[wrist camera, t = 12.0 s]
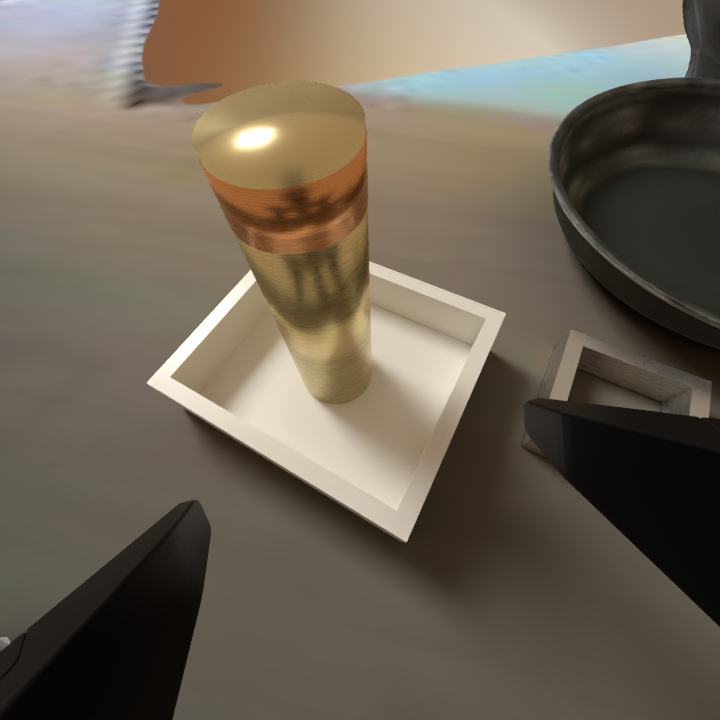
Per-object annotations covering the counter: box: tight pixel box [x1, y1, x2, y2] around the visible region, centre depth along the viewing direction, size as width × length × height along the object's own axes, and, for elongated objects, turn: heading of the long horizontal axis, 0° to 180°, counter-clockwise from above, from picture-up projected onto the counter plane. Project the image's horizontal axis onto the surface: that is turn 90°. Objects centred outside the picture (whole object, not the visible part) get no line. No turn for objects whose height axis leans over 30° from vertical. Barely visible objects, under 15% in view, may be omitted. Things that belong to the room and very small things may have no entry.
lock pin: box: [192, 81, 372, 404], centre depth 13 cm, size 4×4×13 cm
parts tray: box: [147, 261, 506, 542], centre depth 18 cm, size 14×12×4 cm
